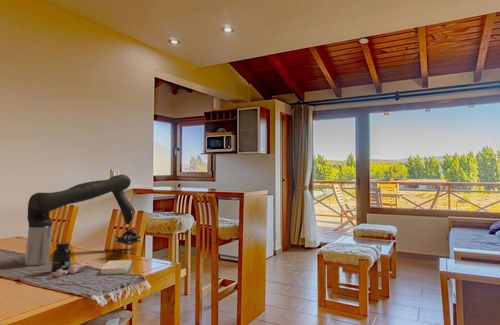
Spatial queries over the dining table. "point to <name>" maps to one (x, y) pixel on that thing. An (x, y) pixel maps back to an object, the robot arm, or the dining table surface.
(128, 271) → the mat
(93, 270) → the dining table surface
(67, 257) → the supplement bottle
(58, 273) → the rabbit figure
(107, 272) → the tile
